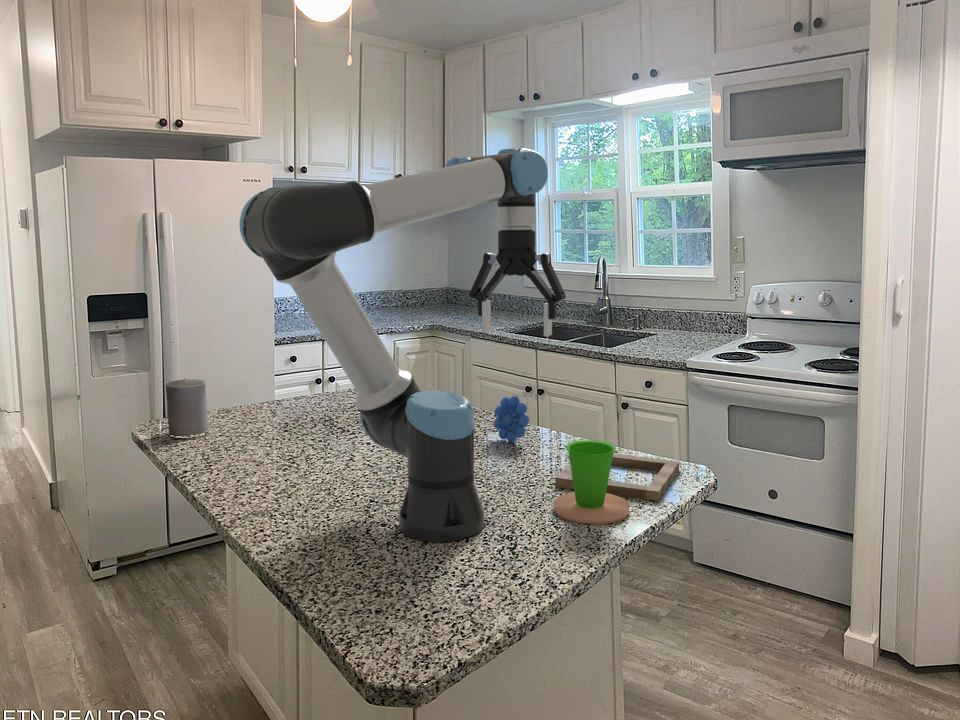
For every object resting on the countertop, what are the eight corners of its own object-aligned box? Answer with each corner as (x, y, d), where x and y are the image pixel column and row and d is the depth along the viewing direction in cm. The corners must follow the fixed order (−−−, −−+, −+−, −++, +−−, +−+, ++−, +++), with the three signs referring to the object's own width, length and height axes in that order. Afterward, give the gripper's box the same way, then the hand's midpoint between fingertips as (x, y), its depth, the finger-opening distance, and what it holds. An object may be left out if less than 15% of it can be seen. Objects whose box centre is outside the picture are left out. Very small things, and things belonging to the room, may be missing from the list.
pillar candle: (162, 435, 198) (157, 378, 195) (197, 427, 205) (193, 372, 202) (181, 442, 192) (176, 383, 189) (216, 433, 199) (212, 377, 196)
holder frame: (658, 501, 147) (658, 491, 147) (555, 486, 156) (555, 477, 155) (679, 470, 166) (679, 461, 165) (585, 458, 175) (586, 450, 174)
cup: (613, 514, 137) (614, 455, 135) (562, 510, 139) (563, 452, 137) (615, 497, 146) (617, 441, 144) (568, 493, 148) (569, 439, 146)
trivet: (617, 529, 134) (618, 522, 134) (542, 517, 140) (542, 510, 139) (637, 503, 146) (637, 497, 146) (567, 493, 152) (567, 487, 152)
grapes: (540, 443, 187) (540, 396, 185) (521, 449, 182) (521, 400, 180) (507, 434, 195) (507, 388, 193) (488, 439, 191) (487, 392, 189)
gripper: (582, 228, 151) (580, 334, 155) (468, 229, 162) (469, 328, 165) (570, 228, 145) (568, 339, 148) (452, 229, 155) (454, 333, 159)
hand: (516, 334), depth 157 cm, fingers open, 13 cm apart
